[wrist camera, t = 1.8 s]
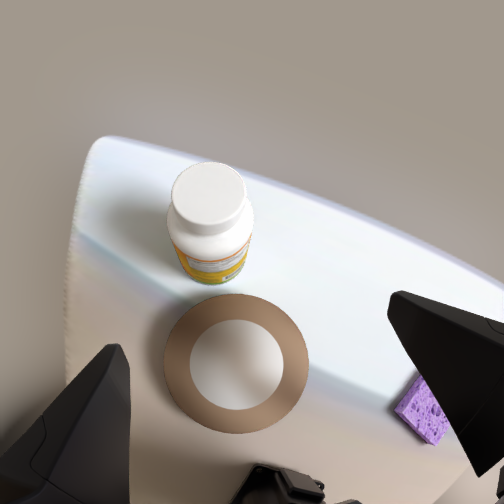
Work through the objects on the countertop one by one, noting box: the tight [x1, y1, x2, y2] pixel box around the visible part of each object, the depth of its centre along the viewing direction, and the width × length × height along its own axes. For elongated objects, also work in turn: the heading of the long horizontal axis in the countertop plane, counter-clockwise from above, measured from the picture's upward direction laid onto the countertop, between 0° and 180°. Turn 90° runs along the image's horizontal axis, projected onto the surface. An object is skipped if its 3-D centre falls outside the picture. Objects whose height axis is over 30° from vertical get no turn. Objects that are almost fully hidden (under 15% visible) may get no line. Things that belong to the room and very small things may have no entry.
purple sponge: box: [394, 374, 450, 446], centre depth 21 cm, size 7×13×2 cm, turn 133°
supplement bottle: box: [167, 162, 254, 285], centre depth 19 cm, size 5×5×10 cm
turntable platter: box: [164, 294, 309, 434], centre depth 19 cm, size 10×10×2 cm
